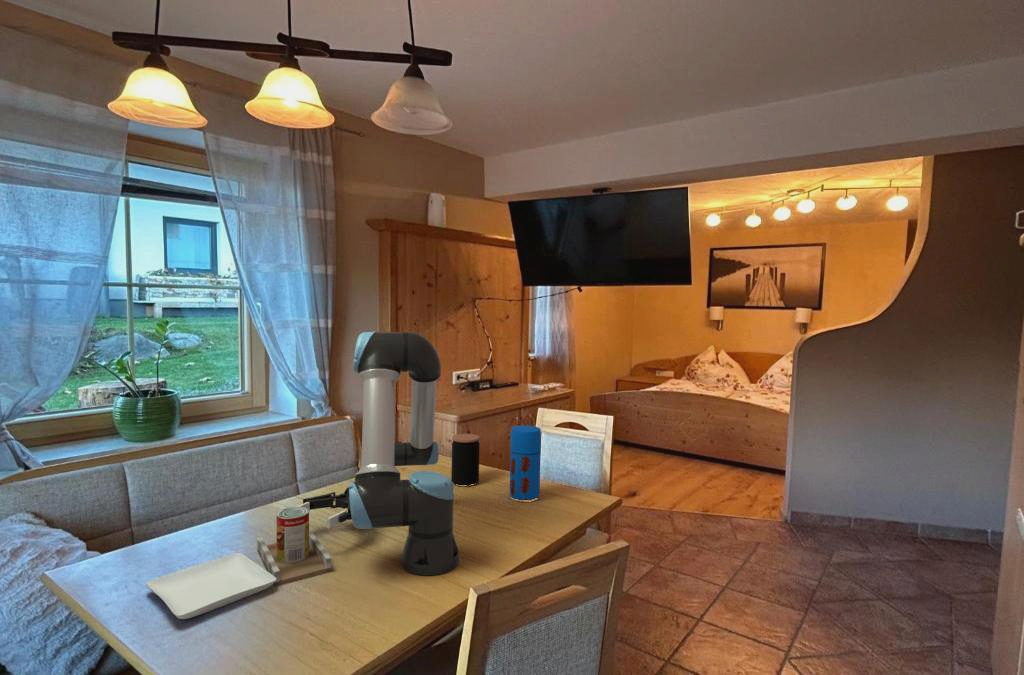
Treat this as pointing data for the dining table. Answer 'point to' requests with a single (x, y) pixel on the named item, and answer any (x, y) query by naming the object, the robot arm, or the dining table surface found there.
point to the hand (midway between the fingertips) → (309, 518)
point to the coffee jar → (465, 459)
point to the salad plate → (210, 585)
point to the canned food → (292, 535)
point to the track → (288, 573)
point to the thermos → (525, 462)
